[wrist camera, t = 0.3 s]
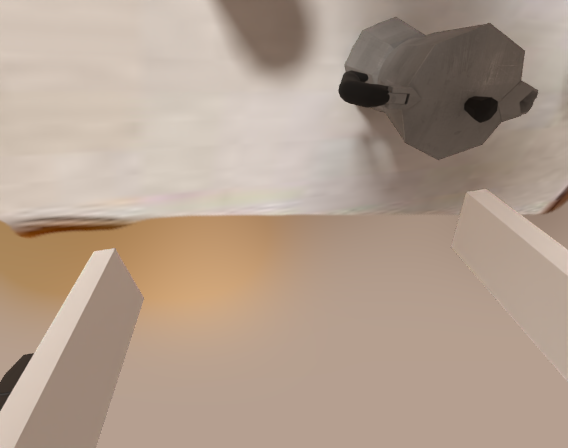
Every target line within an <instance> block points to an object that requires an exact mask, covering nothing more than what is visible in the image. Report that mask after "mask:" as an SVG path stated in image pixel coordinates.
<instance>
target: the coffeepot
mask: <svg viewBox="0 0 568 448" xmlns="http://www.w3.org/2000/svg"><path fill="white" fill-rule="evenodd" d="M524 54H525V51H524V50H523V49H522V48H521V47H519V46H518V45H517V44H516V43H514V42H513V41H512V40H511V39H509V38H508V37H507V36H506V35H504V34H503V33H502V32H501V31H499V30H498V29H497V28H495V27H494V26H493V25H492V24H490V23H488V24H484V25H478V26H472V27H466V28H460V29H454V30H448V31H442V32H436V33H433V34H430V35H427V36H426V35H424V34H422V33H421V32H419V31H417V30H416V29H414V28H413V27H411V26H409V25H408V24H406V23H405V22H403V21H402V20H400V19H398V18H397V17H395V18H392V19H390V20H387V21H384V22H381V23H378V24H376V25H375V26H372V27H370V28H367V29H365V30H363V31H362V33H361V34H360V36H359V38H358V40H357V41H356V43H355V45H354V46H353V48H352V50H351V53H350V55H349V57H348V59H347V61H346V63H345V70H346V72H345V73H344V75H343V78H342V80H341V84H340V85H339V94H340V97H341V98H342V99H343V100H344V101H346V102H348V103H350V104H355V105H359V106H363V107H371V108H373V109H375V110H378V111H382V112H385V113H386V114H387V116H388V117H389V119H390V120H391V122H392V123H393V125H394V126H395V128H396V129H397V131H398V132H399V134H400V135H401V137H402V138H403V140H404V142H405V143H407V144H409V145H411V146H412V147H414V148H416V149H418V150H420V151H422V152H424V153H426V154H428V155H430V156H432V157H434V158H436V159H438V160H439V159H442V158H445V157H448V156H451V155H454V154H457V153H459V152H462V151H465V150H468V149H471V148H474V147H476V146H479V145H482V144H483V143H484V142H485V141H486V140H487V138H488V137H489V136H490V135H491V134H492V132H493V131H494V130H495V129H496V128H497V127H498V125H499V124H500V123H501V122H503V121H506V120H509V119H513V118H516V117H519V116H521V115H522V114H526V113H527V112H528V111H529V110H530V109H531V107H532V105H533V102H534V100H535V99H536V98H537V94H538V90H537V89H535V88H533V87H532V86H530V85H528V84H526V83H525V82H523V81H521V77H522V69H523V61H524Z"/></svg>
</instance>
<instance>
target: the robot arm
mask: <svg viewBox="0 0 568 448" xmlns="http://www.w3.org/2000/svg"><path fill="white" fill-rule="evenodd" d="M451 248H452V249H453V250H454V252H455V253H456V254H457V255H458V256H459V257H460V258H461V260H462V261H463V262H464V263H465V264H466V265H467V267H468V268H469V269H470V270H471V271H472V272H473V274H474V275H475V276H476V277H477V278H478V279H479V280H480V281H481V283H482V284H483V285H484V286H485V287H486V288H487V290H488V291H489V292H490V293H491V294H492V295H493V297H494V298H495V299H496V300H497V301H498V302H499V303H500V305H501V306H502V307H503V308H504V309H505V310H506V312H508V314H509V315H510V316H511V317H512V318H513V320H514V321H515V322H516V323H517V324H518V325H519V326H520V327H521V329H522V330H523V331H524V332H525V333H526V334H527V336H528V337H529V338H530V339H531V340H532V341H533V342H534V344H535V345H536V346H537V347H538V348H539V349H540V350H541V352H542V353H543V354H544V355H545V356H546V357H547V359H548V360H549V361H550V362H551V363H552V364H553V366H554V367H555V368H556V369H557V370H558V371H559V373H560V374H561V375H562V376H563V377H564V378H565V379H566V380H567V382H568V250H567V249H566V248H565V247H563V246H562V245H560V244H559V243H558V242H557V241H555V240H554V239H552V238H551V237H550V236H548V235H547V234H546V233H544V232H543V231H541V230H540V229H539V228H538V227H536V226H535V225H534V224H532V223H531V222H530V221H528V220H527V219H526V218H524V217H523V216H522V215H520V214H519V213H518V212H516V211H515V210H514V209H512V208H511V207H510V206H508V205H507V204H506V203H504V202H503V201H502V200H500V199H499V198H498V197H496V196H495V195H494V194H492V193H491V192H490V191H488V190H487V189H481V190H475V191H469V192H466V195H465V198H464V202H463V205H462V209H461V212H460V216H459V220H458V223H457V227H456V230H455V234H454V237H453V241H452V244H451ZM143 300H144V297H143V296H142V294H141V292H140V290H139V289H138V287H137V286H136V283H135V282H134V280H133V278H132V277H131V275H130V273H129V272H128V270H127V268H126V266H125V265H124V263H123V261H122V259H121V258H120V256H119V254H118V253H117V251H116V249H115V248H113V249H108V250H101V251H95V252H93V254H92V256H91V257H90V259H89V261H88V262H87V264H86V266H85V267H84V269H83V271H82V273H81V274H80V276H79V278H78V279H77V281H76V283H75V284H74V286H73V288H72V290H71V291H70V293H69V295H68V296H67V298H66V300H65V302H64V303H63V305H62V307H61V309H60V310H59V312H58V314H57V315H56V317H55V319H54V321H53V322H52V324H51V326H50V327H49V329H48V331H47V332H46V334H45V336H44V337H43V339H42V341H41V343H40V344H39V346H38V348H37V349H36V351H35V353H33V354H27V355H23V356H22V357H21V359H19V360H18V361H17V362H16V364H15V365H14V366H13V367H12V368H11V369H10V370H9V371H8V372H7V373H6V374H5V375H4V377H3V378H2V380H1V382H0V448H96V445H97V443H98V439H99V436H100V433H101V430H102V427H103V424H104V421H105V418H106V415H107V412H108V408H109V405H110V402H111V399H112V396H113V393H114V390H115V386H116V384H117V380H118V377H119V374H120V371H121V368H122V365H123V362H124V359H125V355H126V352H127V349H128V346H129V343H130V340H131V337H132V334H133V331H134V328H135V324H136V321H137V318H138V315H139V312H140V309H141V306H142V303H143Z"/></svg>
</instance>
